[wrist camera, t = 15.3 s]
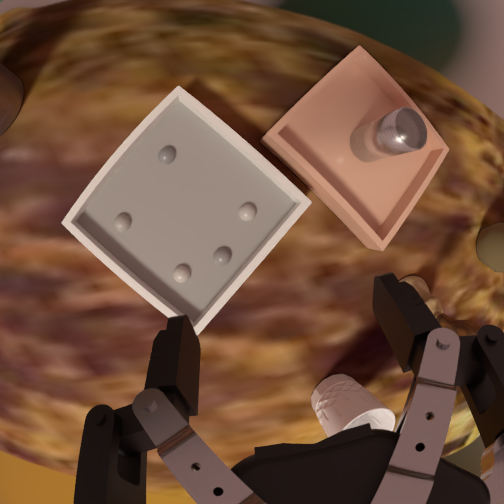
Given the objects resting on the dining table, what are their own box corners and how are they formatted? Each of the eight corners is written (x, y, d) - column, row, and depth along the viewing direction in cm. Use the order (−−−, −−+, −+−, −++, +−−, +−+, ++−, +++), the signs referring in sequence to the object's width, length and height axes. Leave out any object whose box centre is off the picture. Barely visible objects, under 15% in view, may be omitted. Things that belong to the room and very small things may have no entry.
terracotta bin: (259, 141, 32) (266, 133, 28) (347, 56, 32) (359, 45, 29) (367, 247, 36) (382, 251, 32) (433, 152, 36) (449, 149, 33)
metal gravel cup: (343, 143, 32) (387, 123, 24) (362, 120, 33) (407, 98, 24) (367, 170, 33) (416, 159, 24) (385, 146, 33) (434, 131, 25)
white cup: (304, 379, 36) (335, 423, 27) (358, 362, 37) (398, 398, 28) (308, 422, 37) (334, 467, 28) (358, 405, 39) (391, 444, 29)
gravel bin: (74, 222, 29) (61, 223, 26) (180, 97, 30) (178, 85, 26) (195, 326, 33) (195, 337, 30) (300, 203, 33) (311, 202, 30)
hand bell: (392, 343, 38) (468, 394, 23) (377, 295, 37) (465, 335, 21) (432, 312, 39) (511, 347, 23) (421, 264, 38) (510, 287, 22)
